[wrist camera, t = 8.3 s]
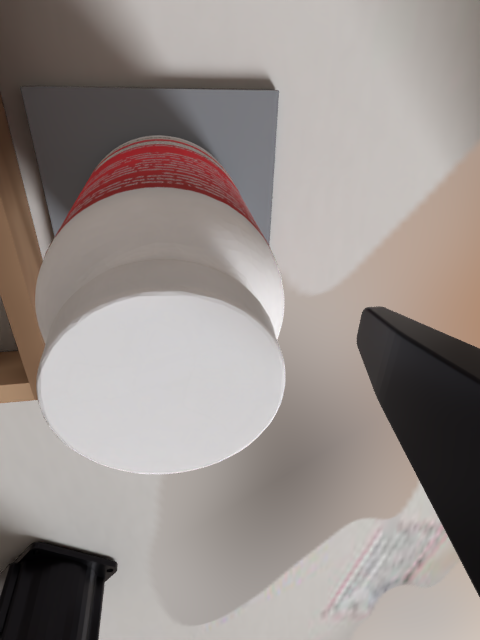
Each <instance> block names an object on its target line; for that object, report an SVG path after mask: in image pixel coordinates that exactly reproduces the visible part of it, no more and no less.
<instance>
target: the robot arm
mask: <svg viewBox="0 0 480 640" xmlns="http://www.w3.org/2000/svg"><path fill="white" fill-rule="evenodd" d="M357 346H358V349H359V351H360V354H361V357H362V359H363V362H364V364H365V367H366V370H367V373H368V375H369V378H370V381H371V383H372V386H373V389H374V391H375V394H376V396H377V399H378V401H379V403H380V405H381V407H382V408H383V411H384V413H385V415H386V417H387V419H388V421H389V422H390V424H391V426H392V428H393V430H394V432H395V434H396V436H397V438H398V440H399V442H400V444H401V446H402V448H403V450H404V452H405V453H406V455H407V457H408V459H409V461H410V463H411V465H412V467H413V469H414V471H415V472H416V475H417V477H418V479H419V481H420V483H421V485H422V486H423V488H424V490H425V492H426V494H427V496H428V498H429V500H430V502H431V504H432V506H433V508H434V510H435V512H436V514H437V516H438V518H439V519H440V521H441V523H442V525H443V527H444V529H445V531H446V533H447V535H448V537H449V539H450V541H451V543H452V545H453V547H454V549H455V551H456V552H457V554H458V556H459V558H460V560H461V562H462V564H463V566H464V568H465V570H466V572H467V574H468V576H469V578H470V579H471V582H472V583H473V585H474V587H475V589H476V591H477V593H478V595H479V597H480V349H479V348H477V347H475V346H472V345H470V344H467V343H465V342H463V341H461V340H458V339H456V338H454V337H451V336H449V335H447V334H445V333H442V332H440V331H437V330H435V329H433V328H431V327H428V326H426V325H424V324H421V323H419V322H417V321H414V320H412V319H410V318H407V317H405V316H403V315H401V314H398V313H396V312H393V311H391V310H389V309H386V308H384V307H367V308H365V309H364V310H363V312H362V315H361V320H360V324H359V329H358V334H357ZM116 571H117V562H115V561H111V560H107V559H103V558H99V557H95V556H92V555H88V554H84V553H80V552H76V551H72V550H68V549H64V548H61V547H57V546H53V545H49V544H45V543H41V542H36V543H33V544H31V545H30V546H29V547H28V548H27V549H26V550H25V551H24V552H23V554H22V555H21V556H20V557H19V558H18V559H17V560H16V561H15V562H13V563H11V564H10V565H9V566H8V567H7V568H6V569H5V570H4V571H3V572H2V573H1V574H0V640H98V638H99V629H100V620H101V611H102V602H103V593H104V583H105V581H106V580H108V579H109V578H110V577H111V576H112V575H113V574H114V573H115V572H116Z"/></svg>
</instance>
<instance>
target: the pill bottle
mask: <svg viewBox="0 0 480 640" xmlns="http://www.w3.org/2000/svg"><path fill="white" fill-rule="evenodd" d="M35 308H36V316H37V320H38V325H39V328H40V331H41V334H42V336H43V339H44V342H45V347H44V351H43V354H42V357H41V360H40V364H39V368H38V372H37V382H36V390H37V398H38V402H39V405H40V409H41V412H42V414H43V416H44V418H45V420H46V422H47V423H48V425H49V427H50V429H51V430H52V431H53V432H54V433H55V434H56V436H57V437H59V438H60V439H61V441H62V442H63V443H65V444H66V445H67V446H68V447H70V448H71V449H72V450H74V451H75V452H77V453H78V454H80V455H82V456H83V457H85V458H87V459H89V460H91V461H93V462H96V463H98V464H101V465H104V466H106V467H110V468H113V469H117V470H122V471H127V472H132V473H140V474H171V473H180V472H186V471H192V470H195V469H199V468H203V467H206V466H209V465H212V464H215V463H218V462H220V461H222V460H224V459H227V458H229V457H230V456H232V455H234V454H236V453H237V452H239V451H241V450H242V449H244V448H245V447H247V446H248V445H249V444H251V443H252V442H253V441H254V440H255V439H256V438H257V437H258V436H259V435H260V434H261V433H262V432H263V431H264V430H265V429H266V428H267V426H268V425H269V424H270V423H271V421H272V419H273V418H274V416H275V414H276V412H277V411H278V408H279V406H280V404H281V401H282V397H283V393H284V388H285V364H284V359H283V355H282V352H281V349H280V347H279V344H278V341H277V338H278V336H279V333H280V329H281V326H282V321H283V315H284V291H283V283H282V279H281V274H280V271H279V268H278V265H277V262H276V260H275V258H274V256H273V253H272V251H271V249H270V247H269V245H268V243H267V241H266V239H265V237H264V236H263V234H262V232H261V231H260V229H259V227H258V226H257V224H256V222H255V220H254V219H253V217H252V215H251V213H250V211H249V210H248V208H247V206H246V204H245V203H244V201H243V199H242V197H241V195H240V193H239V191H238V189H237V187H236V186H235V184H234V182H233V181H232V179H231V177H230V176H229V174H228V173H227V172H226V170H225V169H224V168H223V166H222V165H221V164H220V163H219V162H218V161H217V160H216V159H215V158H214V157H213V156H212V155H211V154H210V153H208V152H207V151H206V150H204V149H203V148H201V147H200V146H198V145H196V144H194V143H192V142H189V141H187V140H184V139H181V138H177V137H171V136H163V135H154V136H145V137H140V138H137V139H133V140H130V141H128V142H126V143H124V144H122V145H120V146H119V147H117V148H115V149H114V150H113V151H111V152H110V153H109V154H108V155H107V156H106V157H105V158H104V159H103V160H102V161H101V162H100V163H99V164H98V166H97V167H96V168H95V170H94V171H93V173H92V174H91V176H90V178H89V179H88V181H87V183H86V185H85V186H84V188H83V190H82V191H81V193H80V195H79V196H78V198H77V200H76V201H75V203H74V205H73V206H72V208H71V210H70V211H69V213H68V215H67V217H66V219H65V220H64V222H63V224H62V226H61V227H60V229H59V231H58V232H57V234H56V236H55V238H54V239H53V241H52V243H51V245H50V247H49V249H48V250H47V252H46V254H45V257H44V260H43V262H42V265H41V268H40V271H39V275H38V278H37V284H36V292H35Z"/></svg>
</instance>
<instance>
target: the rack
mask: <svg viewBox="0 0 480 640" xmlns="http://www.w3.org/2000/svg"><path fill="white" fill-rule="evenodd" d="M42 262H43V260H42V256H41V252H40V248H39V244H38V240H37V236H36V232H35V228H34V224H33V220H32V216H31V212H30V209H29V205H28V201H27V197H26V193H25V189H24V185H23V181H22V177H21V173H20V169H19V165H18V161H17V157H16V153H15V149H14V145H13V141H12V137H11V133H10V130H9V126H8V122H7V118H6V114H5V110H4V106H3V102H2V98H1V94H0V296H1V299H2V302H3V305H4V308H5V311H6V314H7V317H8V320H9V323H10V326H11V329H12V332H13V335H14V338H15V341H16V344H17V347H18V350H19V351H9V352H0V403H8V402H19V401H30V400H38V398H37V390H36V382H37V372H38V368H39V364H40V360H41V357H42V354H43V351H44V347H45V342H44V339H43V336H42V334H41V331H40V328H39V325H38V320H37V316H36V308H35V292H36V284H37V278H38V275H39V271H40V268H41V265H42Z"/></svg>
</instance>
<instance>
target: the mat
mask: <svg viewBox="0 0 480 640" xmlns="http://www.w3.org/2000/svg"><path fill="white" fill-rule="evenodd" d="M20 88H21V92H22V97H23V101H24V105H25V110H26V114H27V118H28V123H29V127H30V132H31V136H32V140H33V145H34V149H35V153H36V158H37V162H38V167H39V171H40V175H41V180H42V184H43V188H44V193H45V197H46V201H47V206H48V210H49V215H50V219H51V223H52V228H53V232H54V236H56V234H57V232H58V231H59V229H60V227H61V226H62V224H63V222H64V220H65V219H66V217H67V215H68V213H69V211H70V210H71V208H72V206H73V205H74V203H75V201H76V200H77V198H78V196H79V195H80V193H81V191H82V190H83V188H84V186H85V185H86V183H87V181H88V179H89V178H90V176H91V174H92V173H93V171H94V170H95V168H96V167H97V166H98V164H99V163H100V162H101V161H102V160H103V159H104V158H105V157H106V156H107V155H108V154H109V153H110V152H111V151H113V150H114V149H115V148H117V147H119V146H120V145H122V144H124V143H126V142H128V141H130V140H133V139H137V138H140V137H145V136H154V135H163V136H171V137H177V138H181V139H184V140H187V141H189V142H192V143H194V144H196V145H198V146H200V147H201V148H203V149H204V150H206V151H207V152H208V153H210V154H211V155H212V156H213V157H214V158H215V159H216V160H217V161H218V162H219V163H220V164H221V165H222V166H223V168H224V169H225V170H226V172H227V173H228V174H229V176H230V177H231V179H232V181H233V182H234V184H235V186H236V187H237V189H238V191H239V193H240V195H241V197H242V199H243V201H244V203H245V204H246V206H247V208H248V210H249V211H250V213H251V215H252V217H253V219H254V220H255V222H256V224H257V226H258V227H259V229H260V231H261V232H262V234H263V236H264V237H265V239H266V241H267V243H268V245H269V241H270V225H271V209H272V193H273V177H274V161H275V145H276V129H277V113H278V97H279V90H248V89H181V88H114V87H46V86H22V87H20Z"/></svg>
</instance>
